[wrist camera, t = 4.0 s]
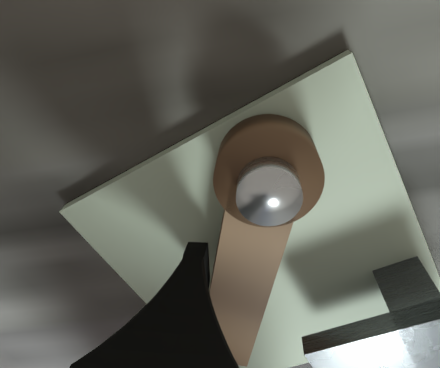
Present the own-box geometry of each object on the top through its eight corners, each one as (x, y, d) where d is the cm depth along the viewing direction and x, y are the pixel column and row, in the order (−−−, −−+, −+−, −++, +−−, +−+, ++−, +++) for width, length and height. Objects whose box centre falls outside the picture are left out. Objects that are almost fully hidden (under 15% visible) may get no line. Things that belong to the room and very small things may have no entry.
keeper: (438, 308, 15) (475, 371, 13) (324, 339, 17) (337, 400, 15) (417, 256, 14) (454, 315, 11) (295, 295, 16) (304, 355, 13)
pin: (309, 195, 11) (313, 211, 10) (254, 218, 12) (254, 235, 11) (282, 145, 10) (284, 158, 9) (225, 173, 11) (223, 187, 10)
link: (225, 105, 11) (221, 121, 10) (329, 123, 11) (340, 141, 10) (190, 326, 17) (184, 356, 16) (258, 338, 17) (259, 369, 16)
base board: (451, 314, 16) (458, 324, 16) (223, 374, 21) (222, 384, 20) (347, 49, 11) (352, 52, 10) (65, 204, 15) (59, 211, 15)
